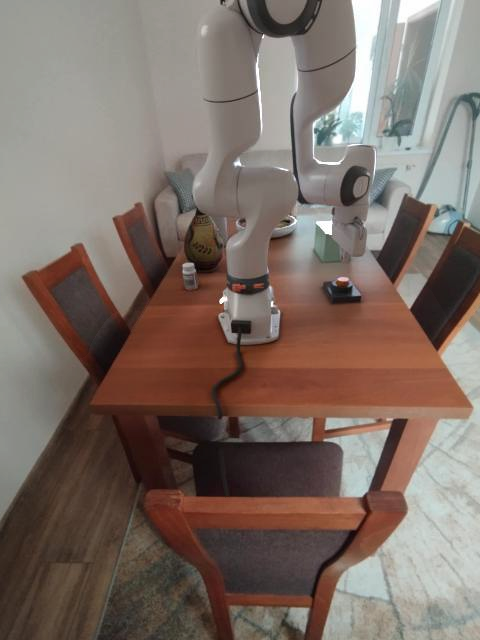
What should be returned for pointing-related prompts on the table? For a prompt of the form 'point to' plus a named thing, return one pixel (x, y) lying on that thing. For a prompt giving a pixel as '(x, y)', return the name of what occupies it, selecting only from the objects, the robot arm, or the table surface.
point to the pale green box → (326, 243)
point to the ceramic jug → (203, 243)
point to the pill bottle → (190, 276)
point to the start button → (342, 281)
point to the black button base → (341, 292)
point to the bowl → (281, 229)
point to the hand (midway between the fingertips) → (343, 262)
